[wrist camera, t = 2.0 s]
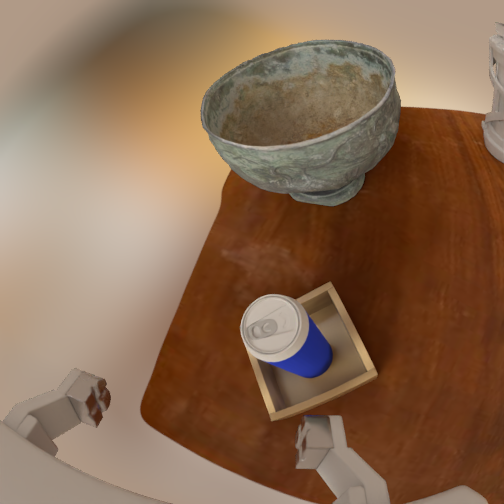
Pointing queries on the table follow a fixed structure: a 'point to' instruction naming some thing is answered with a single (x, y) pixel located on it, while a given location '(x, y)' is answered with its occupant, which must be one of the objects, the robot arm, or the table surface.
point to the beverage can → (285, 336)
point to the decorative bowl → (306, 118)
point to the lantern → (496, 97)
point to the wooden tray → (338, 374)
